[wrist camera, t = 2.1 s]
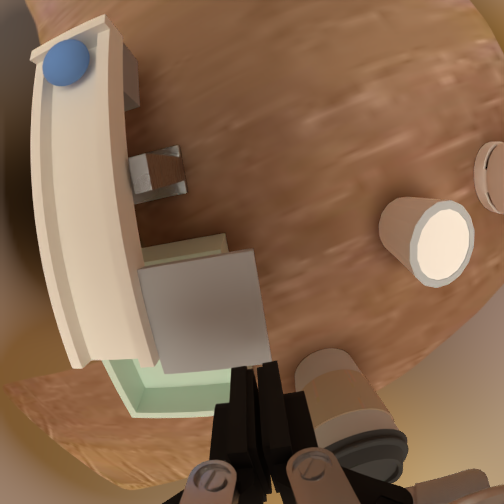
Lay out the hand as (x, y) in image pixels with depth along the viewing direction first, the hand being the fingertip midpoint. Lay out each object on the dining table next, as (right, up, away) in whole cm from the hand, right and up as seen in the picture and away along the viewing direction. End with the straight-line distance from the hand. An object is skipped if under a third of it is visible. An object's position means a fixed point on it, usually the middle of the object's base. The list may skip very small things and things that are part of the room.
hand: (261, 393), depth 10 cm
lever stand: (-10, +11, +14) cm, 20 cm away
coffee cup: (+8, -8, +20) cm, 23 cm away
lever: (-7, +9, +8) cm, 14 cm away
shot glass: (+14, +8, +16) cm, 22 cm away
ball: (-11, +16, +2) cm, 20 cm away
